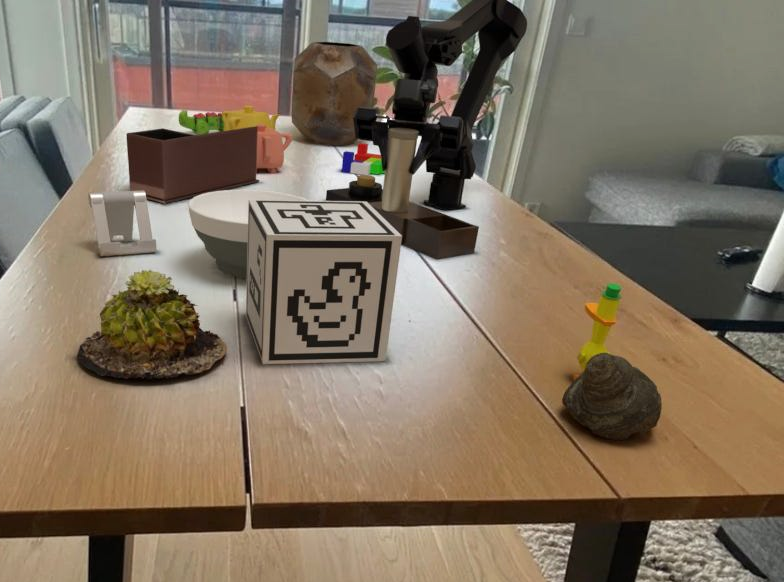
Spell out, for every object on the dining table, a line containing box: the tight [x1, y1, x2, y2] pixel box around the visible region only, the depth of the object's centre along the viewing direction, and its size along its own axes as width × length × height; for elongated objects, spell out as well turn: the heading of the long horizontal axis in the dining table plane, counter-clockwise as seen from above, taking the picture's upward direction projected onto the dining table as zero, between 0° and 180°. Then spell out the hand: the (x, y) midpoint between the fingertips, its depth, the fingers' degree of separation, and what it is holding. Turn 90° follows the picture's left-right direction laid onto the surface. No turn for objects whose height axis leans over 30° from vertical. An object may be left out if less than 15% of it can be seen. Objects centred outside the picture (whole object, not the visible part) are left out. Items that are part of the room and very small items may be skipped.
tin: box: [381, 128, 419, 213], centre depth 133 cm, size 5×5×13 cm
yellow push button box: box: [325, 180, 383, 203], centre depth 155 cm, size 12×10×4 cm
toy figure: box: [573, 282, 622, 381], centre depth 88 cm, size 7×4×12 cm, turn 8°
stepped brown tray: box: [369, 200, 480, 260], centre depth 136 cm, size 9×20×4 cm, turn 34°
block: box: [245, 200, 402, 365], centre depth 93 cm, size 15×15×15 cm
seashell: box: [561, 353, 663, 441], centre depth 80 cm, size 11×12×10 cm
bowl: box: [187, 189, 311, 280], centre depth 115 cm, size 20×20×10 cm
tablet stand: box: [87, 190, 157, 257], centre depth 120 cm, size 9×8×8 cm
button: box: [356, 174, 376, 187], centre depth 154 cm, size 4×4×2 cm
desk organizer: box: [125, 126, 260, 205], centre depth 156 cm, size 10×29×11 cm, turn 145°
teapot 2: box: [256, 124, 293, 174], centre depth 175 cm, size 12×12×10 cm
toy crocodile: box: [178, 109, 225, 135], centre depth 211 cm, size 20×7×6 cm, turn 114°
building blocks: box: [341, 142, 385, 176], centre depth 185 cm, size 15×13×4 cm
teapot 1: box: [221, 105, 282, 131], centre depth 194 cm, size 14×13×10 cm
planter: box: [290, 41, 378, 147], centre depth 208 cm, size 22×24×24 cm
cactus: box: [76, 268, 227, 380], centre depth 87 cm, size 17×16×10 cm
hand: (397, 171), depth 132 cm, fingers closed on tin, 5 cm apart
